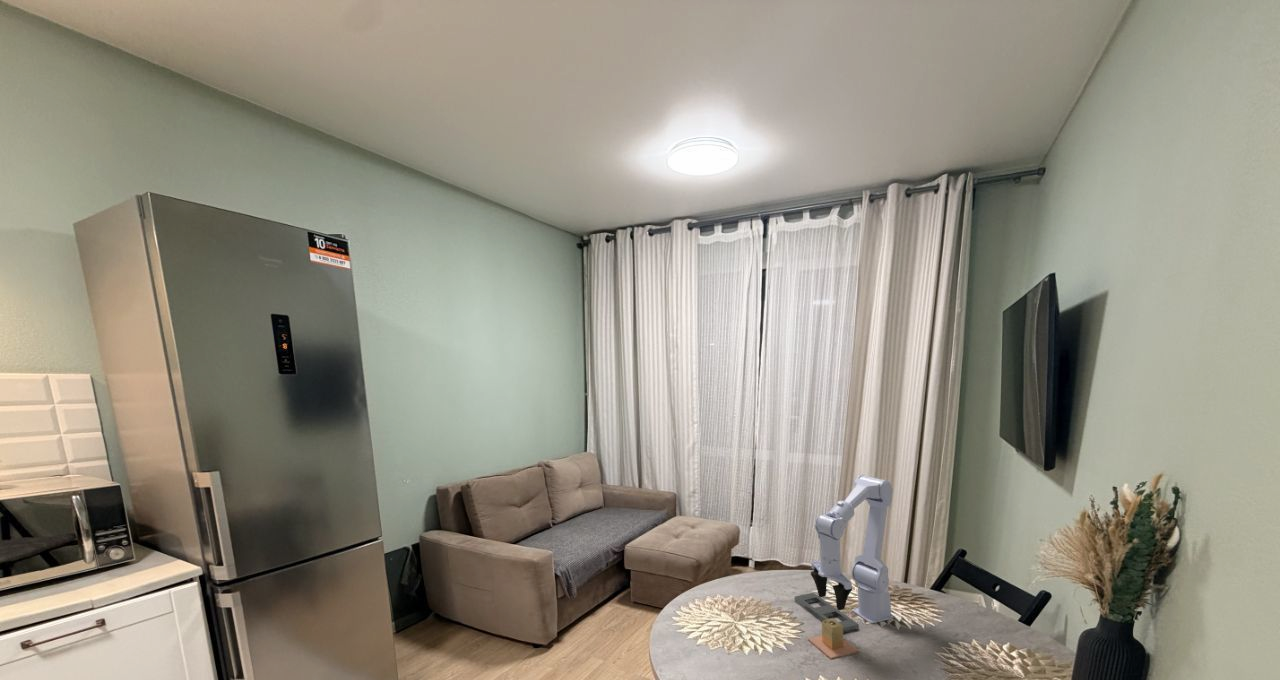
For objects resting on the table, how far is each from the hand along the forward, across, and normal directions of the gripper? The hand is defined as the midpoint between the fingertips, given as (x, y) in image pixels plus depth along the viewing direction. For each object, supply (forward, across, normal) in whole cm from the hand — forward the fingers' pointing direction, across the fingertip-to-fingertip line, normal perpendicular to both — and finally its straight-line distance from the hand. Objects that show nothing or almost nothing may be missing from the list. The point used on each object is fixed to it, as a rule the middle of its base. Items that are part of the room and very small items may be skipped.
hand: (831, 602), depth 134 cm
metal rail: (+9, -9, +6) cm, 14 cm away
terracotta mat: (+9, +5, -4) cm, 11 cm away
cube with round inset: (+9, +5, -4) cm, 11 cm away
